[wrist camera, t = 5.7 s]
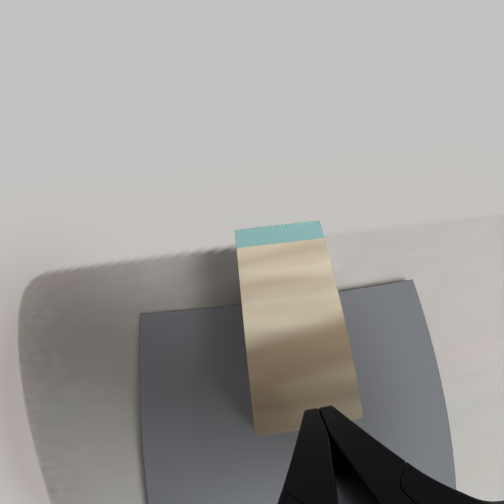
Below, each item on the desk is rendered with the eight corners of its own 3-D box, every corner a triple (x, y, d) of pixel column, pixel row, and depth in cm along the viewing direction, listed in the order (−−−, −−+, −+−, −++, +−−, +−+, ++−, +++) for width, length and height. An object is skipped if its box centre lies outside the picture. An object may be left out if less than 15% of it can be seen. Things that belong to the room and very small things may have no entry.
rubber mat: (452, 550, 8) (456, 552, 7) (170, 597, 8) (167, 600, 7) (409, 283, 17) (412, 279, 17) (144, 316, 17) (141, 313, 17)
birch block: (363, 417, 10) (319, 220, 15) (255, 435, 10) (234, 230, 15) (341, 420, 13) (311, 263, 18) (259, 433, 13) (242, 271, 18)
